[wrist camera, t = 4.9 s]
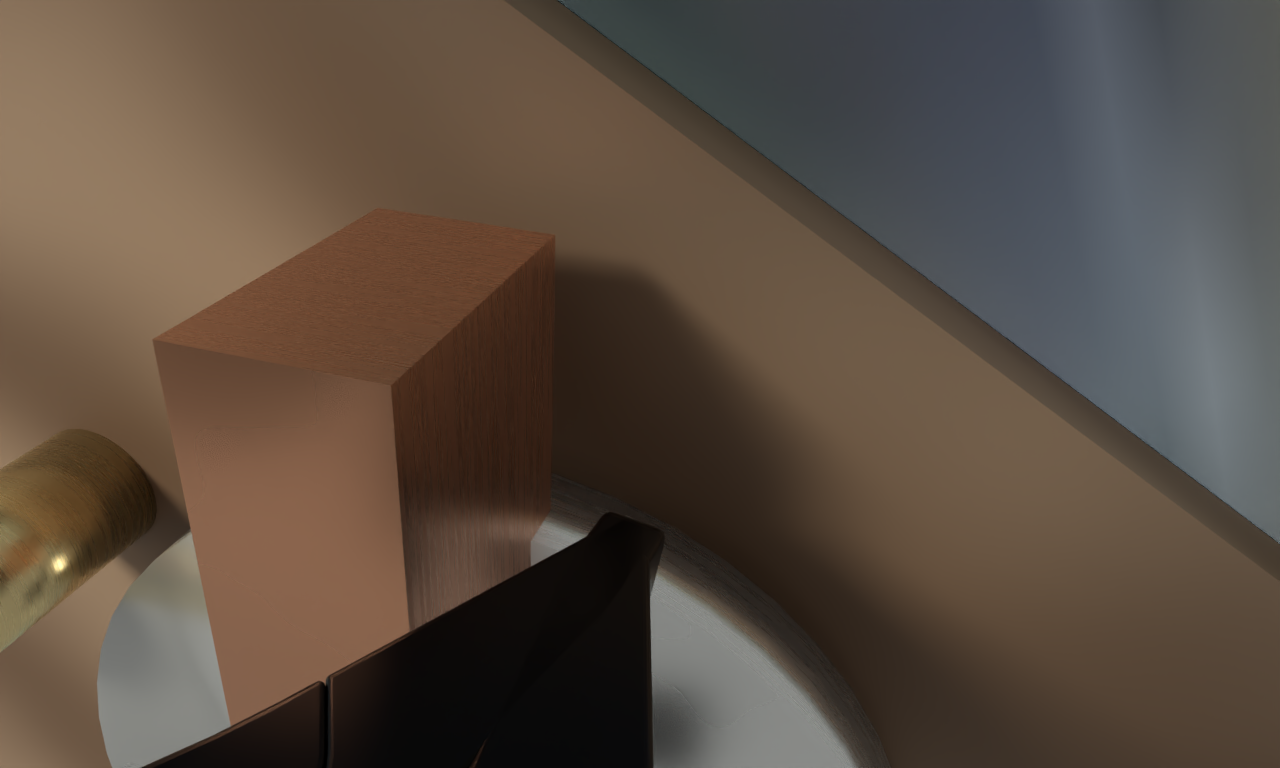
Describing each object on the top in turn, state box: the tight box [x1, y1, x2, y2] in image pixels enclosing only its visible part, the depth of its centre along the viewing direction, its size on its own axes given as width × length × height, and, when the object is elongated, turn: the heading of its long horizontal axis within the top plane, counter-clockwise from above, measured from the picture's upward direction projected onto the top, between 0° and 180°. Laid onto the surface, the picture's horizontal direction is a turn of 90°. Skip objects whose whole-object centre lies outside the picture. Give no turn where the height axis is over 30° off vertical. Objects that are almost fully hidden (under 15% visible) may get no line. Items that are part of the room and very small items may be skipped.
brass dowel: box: [0, 429, 157, 652], centre depth 12 cm, size 2×2×3 cm
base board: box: [0, 0, 1280, 768], centre depth 14 cm, size 18×22×1 cm
